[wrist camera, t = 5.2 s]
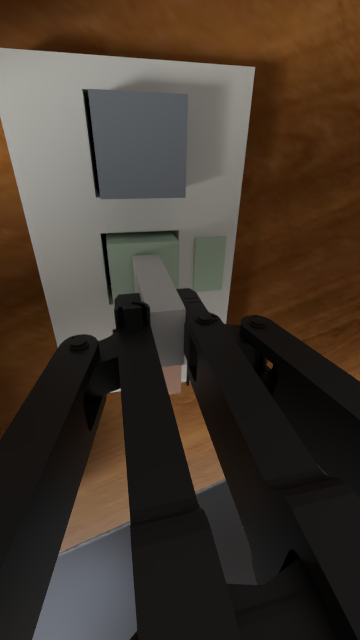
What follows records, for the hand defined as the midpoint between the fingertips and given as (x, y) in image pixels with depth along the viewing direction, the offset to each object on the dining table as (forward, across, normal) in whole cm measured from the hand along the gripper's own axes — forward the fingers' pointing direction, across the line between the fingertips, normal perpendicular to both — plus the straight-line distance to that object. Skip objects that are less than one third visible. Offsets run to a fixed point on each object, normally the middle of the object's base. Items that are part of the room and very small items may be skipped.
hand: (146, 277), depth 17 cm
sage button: (+3, 0, 0) cm, 3 cm away
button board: (+4, 0, 0) cm, 4 cm away
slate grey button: (+2, 0, -6) cm, 7 cm away
